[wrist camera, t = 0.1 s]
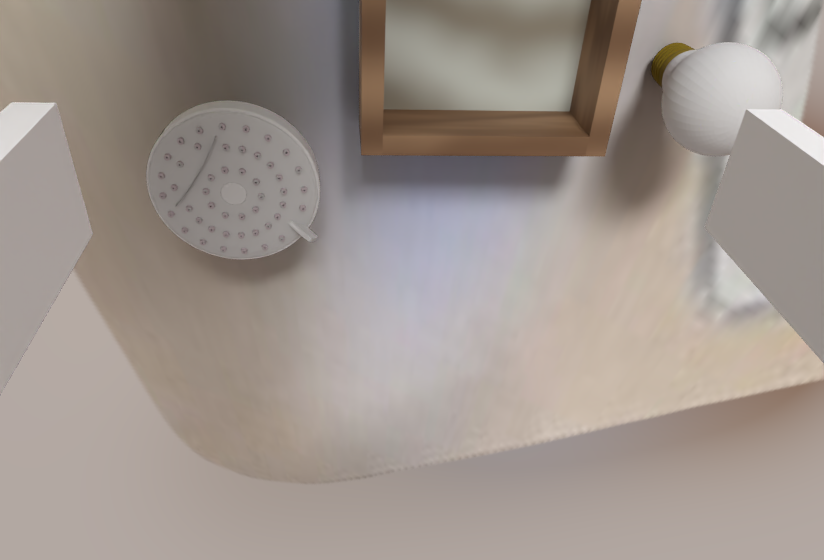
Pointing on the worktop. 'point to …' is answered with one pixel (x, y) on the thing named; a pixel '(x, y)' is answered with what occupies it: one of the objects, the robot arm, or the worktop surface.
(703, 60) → the light bulb
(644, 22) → the worktop surface
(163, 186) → the showerhead
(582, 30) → the wooden box
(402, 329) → the worktop surface
